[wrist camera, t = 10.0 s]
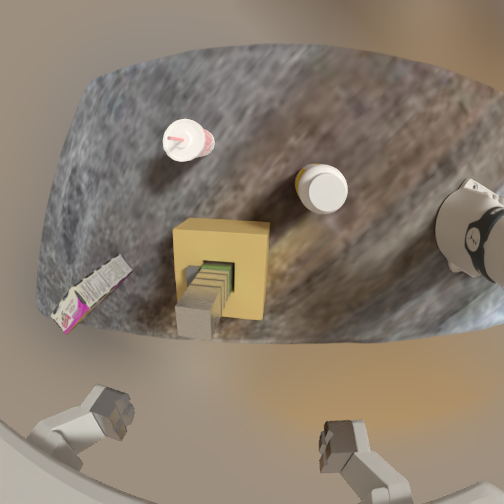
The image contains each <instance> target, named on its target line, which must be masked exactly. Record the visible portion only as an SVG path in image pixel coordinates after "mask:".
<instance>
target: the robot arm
mask: <svg viewBox="0 0 504 504" xmlns="http://www.w3.org/2000/svg"><path fill="white" fill-rule="evenodd" d="M473 185H474V188H473ZM435 234H436V241H437V244H438V247H439V249H440V251H441V252H442V254H443V255H444V256H445V257H446V259H447V261H448V266H449V269H450V270H451V271H452V272H461V271H464V272H465V273H467V274H468V275H470V276H472V277H476V276H480V275H481V276H482V277H484V278H485V279H487V280H489V281H491V282H493V283H497V284H498V285H500V286H501V287H502V288H503V289H504V197H502V196H498V195H496V194H495V193H493V192H492V191H490V190H489V189H487V188H485V187H484V186H482V185H481V184H479V183H477V182H476V181H474V180H472V179H470V178H467V179H466V180H465V181H464V182H463V184H462V185H461V187H460V188H459V189H458V190H457V191H455V192H453V193H452V194H451V195H449V196H448V197H447V199H446V200H445V201H444V203H443V204H442V206H441V208H440V210H439V213H438V216H437V220H436V228H435ZM129 400H130V397H129V395H128V394H127V393H124V392H120V391H118V390H114V389H112V388H109V387H106V386H103V385H100V384H97V385H95V387H94V388H93V389H92V391H91V392H90V393H89V395H88V396H87V397H86V399H85V400H84V402H83V403H82V404H81V406H80V407H79V406H76V407H74V408H71V409H69V410H66V411H64V412H62V413H59V414H57V415H54V416H52V417H50V418H47V419H44V420H42V421H39V423H38V424H37V425H36V427H35V428H34V429H33V430H32V432H31V433H30V435H29V436H28V437H27V439H25V438H24V437H23V436H21V435H20V434H19V433H17V432H16V431H15V430H13V429H12V428H11V427H10V426H8V425H7V424H6V423H4V422H3V421H2V420H1V419H0V504H157V503H154V502H151V501H148V500H145V499H142V498H139V497H136V496H133V495H131V494H128V493H125V492H123V491H120V490H118V489H115V488H113V487H111V486H108V485H106V484H104V483H102V482H99V481H97V480H95V479H93V478H91V477H89V476H87V475H85V474H83V473H81V472H79V471H80V469H81V468H82V465H83V462H82V461H81V459H80V458H79V457H78V456H77V454H78V453H80V452H82V451H83V450H85V449H87V448H88V447H90V446H92V445H93V444H94V443H96V442H98V441H100V440H101V439H103V438H104V437H105V436H107V437H110V438H113V439H116V440H118V441H122V439H123V438H124V436H125V434H126V432H127V429H126V426H128V425H130V424H131V423H132V421H133V418H134V407H133V405H132V404H131V403H130V402H129ZM319 452H320V453H321V454H322V456H321V458H320V460H319V462H320V473H339V472H340V474H341V475H342V477H343V478H344V479H345V480H346V482H347V483H348V484H349V485H350V487H351V488H352V489H353V490H354V491H355V493H356V494H357V495H358V497H359V498H360V499H361V500H362V501H361V502H360V503H359V504H413V500H412V495H411V490H410V486H409V482H408V481H407V480H406V479H405V478H404V477H403V476H401V475H400V474H399V473H398V472H397V471H396V470H395V469H393V468H392V467H391V466H390V465H389V464H388V463H387V462H386V461H385V460H383V459H382V458H381V457H380V456H379V455H378V454H377V453H376V452H375V451H370V446H369V441H368V436H367V432H366V427H365V423H364V421H363V420H342V421H327V422H325V425H324V431H322V432H321V435H320V440H319ZM425 504H504V492H503V491H502V490H500V489H499V488H497V487H495V486H493V485H492V484H490V483H488V482H486V481H481V482H478V483H476V484H473V485H471V486H469V487H467V488H464V489H462V490H460V491H457V492H455V493H452V494H450V495H447V496H444V497H442V498H439V499H436V500H433V501H430V502H427V503H425Z"/></svg>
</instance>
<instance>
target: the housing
mask: <svg viewBox="0 0 504 504" xmlns="http://www.w3.org/2000/svg"><path fill="white" fill-rule="evenodd" d="M269 232H270V222H258V221H241V220H223V219H203V218H189V219H187V220H186V221H184V222H183V223H181V224H180V225H178V226H177V227H175V228H174V229H173V247H174V264H175V266H174V271H175V278H176V291H177V302H178V301H179V300H180V298H181V297H182V295H183V294H184V292H185V291H186V290H187V288H188V287H189V284H191V283H192V281H193V280H194V277H196V276H197V274H198V272H199V271H200V270H201V267H202V266H203V264H205V263H206V262H207V260H208V261H221V262H234V263H235V280H234V284H233V287H232V289H231V294H230V297H228V301H227V302H226V305H225V308H224V310H223V312H222V316H223V317H233V318H243V319H254V320H262V318H263V311H264V304H265V297H266V282H267V266H268V249H269Z"/></svg>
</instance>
